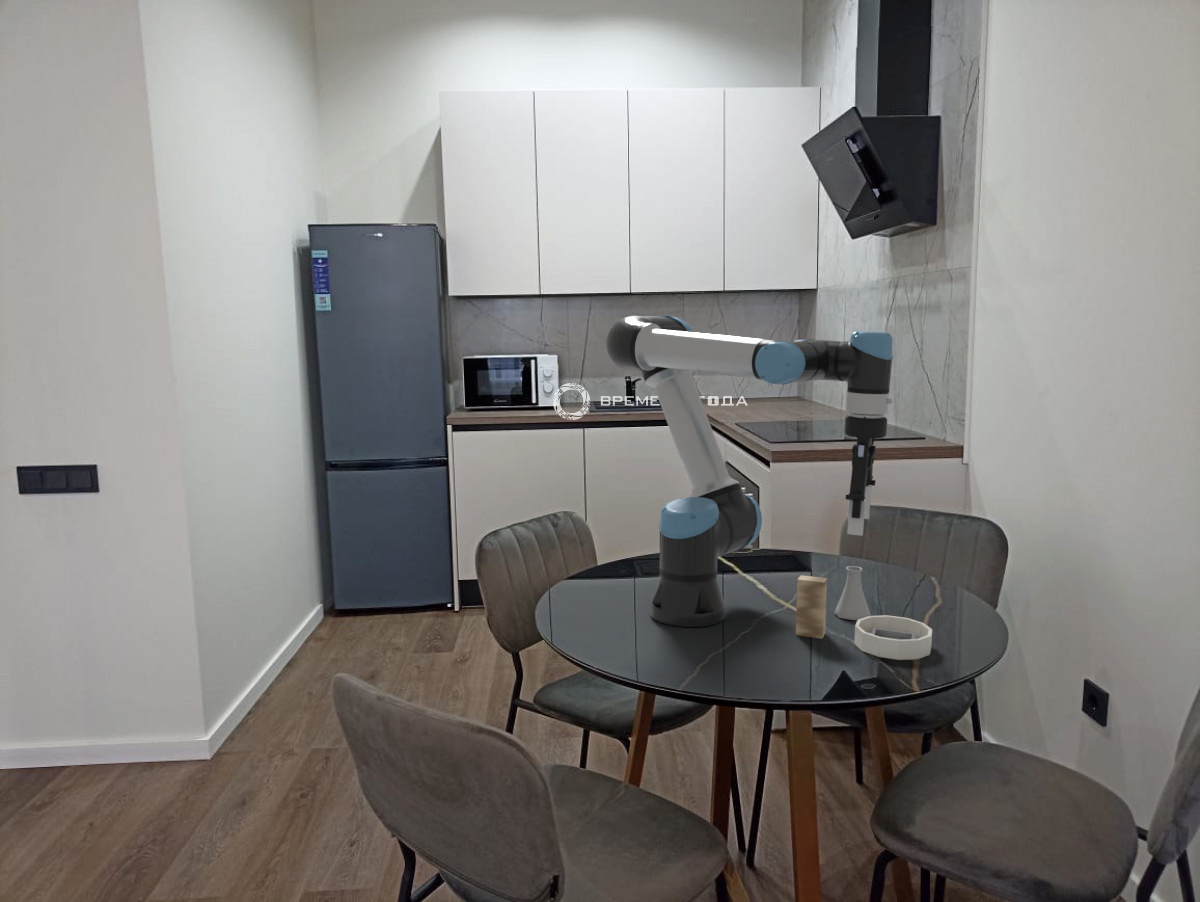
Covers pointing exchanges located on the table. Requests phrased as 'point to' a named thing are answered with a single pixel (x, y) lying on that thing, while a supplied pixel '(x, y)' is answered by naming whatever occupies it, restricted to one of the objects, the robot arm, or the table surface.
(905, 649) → the white round dish
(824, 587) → the wooden block
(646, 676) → the table surface
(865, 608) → the flask
